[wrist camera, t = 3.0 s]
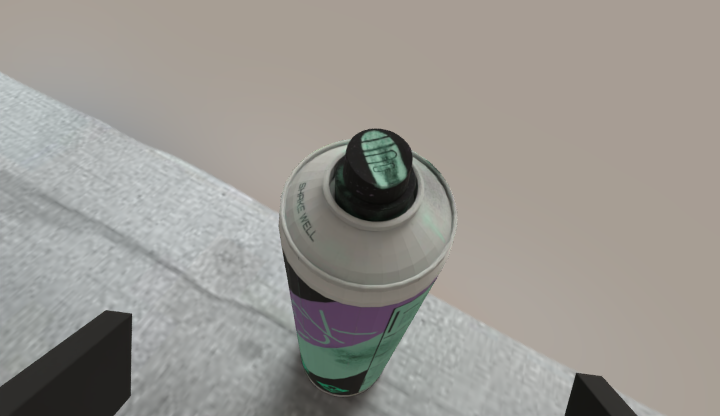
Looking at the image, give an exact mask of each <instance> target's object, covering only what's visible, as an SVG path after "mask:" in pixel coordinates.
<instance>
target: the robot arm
mask: <svg viewBox="0 0 720 416" xmlns="http://www.w3.org/2000/svg"><path fill="white" fill-rule="evenodd" d="M131 343H132V314H130V313H123V312H115V311H108V310H106V311H104V312H103V313H102V314H100V315H99V316H97V317H96V318H95V319H93V320H92V321H91V322H89V323H88V324H86V325H85V326H84V327H82V328H81V329H79V330H78V331H77V332H75V333H74V334H73V335H71V336H70V337H68V338H67V339H66V340H64V341H63V342H62V343H60V344H59V345H57V346H56V347H55V348H53V349H52V350H51V351H49V352H48V353H46V354H45V355H44V356H42V357H41V358H40V359H38V360H37V361H35V362H34V363H33V364H31V365H30V366H29V367H27V368H26V369H24V370H23V371H22V372H20V373H19V374H18V375H16V376H15V377H13V378H12V379H11V380H9V381H8V382H6V383H5V384H4V385H2V386H1V387H0V416H114V415H115V414H116V412H117V411H118V410H119V409H120V408H121V407H122V405H123V404H124V403H125V402H126V401H127V400H128V399H129V397H130V396H131ZM565 416H637V415H636V414H635V413H634V411H633V410H632V409H631V408H630V407H629V406H628V405H627V404H626V403H625V401H624V400H623V399H622V398H621V397H620V396H619V395H618V394H617V392H616V391H615V390H614V389H613V388H612V387H611V386H610V385H609V384H608V382H606V380H605V379H604V378H603V377H602V376H596V375H588V374H581V373H576V375H575V379H574V383H573V387H572V390H571V394H570V398H569V401H568V405H567V409H566V412H565Z"/></svg>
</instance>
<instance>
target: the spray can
mask: <svg viewBox="0 0 720 416" xmlns="http://www.w3.org/2000/svg"><path fill="white" fill-rule="evenodd" d="M456 229H457V209H456V204H455V199H454V197H453V194H452V192H451V190H450V187H449V185H448V184H447V182H446V180H445V179H444V178H443V176H442V175H441V173H440V172H439V171H438V170H437V169H436V168H435V167H434V166H433V165H432V164H431V163H430V162H429V161H427V160H426V159H425V158H423V157H422V156H420V155H419V154H418V153H416V152H414V151H412V150H411V148H410V147H409V145H408V143H407V142H406V141H405V140H404V139H403V138H401V137H400V136H399V135H397V134H395V133H394V132H391V131H388V130H383V129H368V130H364V131H362V132H360V133H358V134H356V135H355V136H354V137H353V138H352V139H349V140H342V141H339V142H335V143H332V144H329V145H326V146H324V147H322V148H320V149H318V150H316V151H314V152H313V153H312V154H310V155H309V156H307V157H306V158H305V159H303V160H302V161H301V162H300V163H299V164H298V166H297V167H296V168H295V169H294V170H293V171H292V173H291V175H290V176H289V178H288V180H287V181H286V183H285V186H284V189H283V192H282V195H281V205H280V213H279V232H280V238H281V245H282V250H283V256H284V262H285V268H286V273H287V279H288V285H289V290H290V296H291V302H292V308H293V313H294V319H295V325H296V331H297V336H298V342H299V348H300V353H301V359H302V364H303V367H304V370H305V372H306V374H307V376H308V377H309V379H310V381H311V382H312V383H313V384H314V385H315V386H316V387H317V388H319V389H320V390H322V391H323V392H325V393H327V394H330V395H333V396H338V397H349V396H353V395H357V394H359V393H361V392H363V391H365V390H367V389H368V388H369V387H370V386H372V385H373V384H374V383H375V381H376V380H377V379H378V378H379V376H380V374H381V373H382V371H383V369H384V368H385V366H386V364H387V363H388V361H389V359H390V357H391V356H392V354H393V352H394V351H395V349H396V347H397V345H398V344H399V342H400V340H401V339H402V337H403V335H404V333H405V332H406V330H407V328H408V327H409V325H410V323H411V321H412V320H413V318H414V316H415V315H416V313H417V311H418V309H419V308H420V306H421V304H422V303H423V301H424V299H425V297H426V296H427V294H428V292H429V291H430V289H431V287H432V285H433V284H434V282H435V280H436V279H437V277H438V275H439V273H440V272H441V270H442V268H443V266H444V264H445V263H446V261H447V259H448V257H449V255H450V251H451V248H452V244H453V240H454V236H455V232H456Z"/></svg>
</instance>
